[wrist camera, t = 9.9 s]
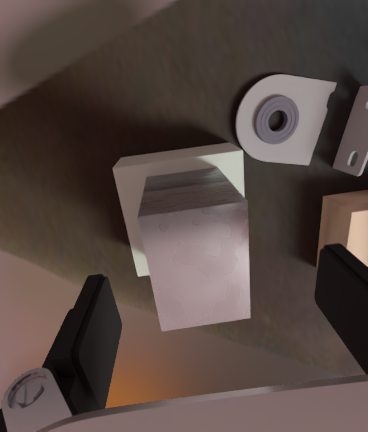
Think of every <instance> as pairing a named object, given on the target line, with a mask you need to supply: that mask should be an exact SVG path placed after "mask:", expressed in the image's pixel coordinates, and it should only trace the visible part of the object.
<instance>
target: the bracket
mask: <svg viewBox="0 0 368 432" xmlns="http://www.w3.org/2000/svg"><path fill="white" fill-rule="evenodd" d="M336 84H337V83H335V82H329V81H323V80H316V79H310V78H304V77H298V76H292V75H284V74H279V75H273V76H269V77H266V78H264V79H262V80H260V81H258V82H257V83H256V84H254V85H253V86H252V87H251V88H250V89H249V90H248V92H247V93H246V94H245V95H244V97H243V99H242V101H241V103H240V105H239V107H238V111H237V115H236V122H235V127H236V134H237V138H238V141H239V143H240V145H241V147H242V148H243V149H244V151H245V152H246V153H247V154H249V155H250V156H251V157H253V158H255V159H258V160H261V161H266V162H277V163H288V164H300V165H309V163H310V160H311V157H312V154H313V151H314V148H315V145H316V142H317V140H318V137H319V134H320V131H321V128H322V125H323V122H324V119H325V116H326V113H327V110H328V109H327V107H326V105H327V101H328V98H329V95H330V94H331V93H332V92H333V91H334V90H335V87H336ZM276 110H279V111H280V112H281V113H282V114H283V117H284V120H283V124H282V126H281V127H280V128H279V129H277V130H275V131H272V130H271V129H270V128H269V126H268V120H269V117H270V115H271V114H272V113H273V112H274V111H276ZM356 151H357V152H358V158H357V160H356V163H355V165H354V166H353V167H351V166H350V161H351V159H352V156H353V154H354V153H355V152H356ZM367 160H368V86H360V88H359V91H358V94H357V96H356V99H355V102H354V105H353V108H352V110H351V113H350V116H349V119H348V122H347V125H346V128H345V131H344V134H343V137H342V140H341V143H340V146H339V149H338V152H337V155H336V158H335V162H334V165H333V168H334V169H337V170H340V171H343V172H346V173H349V174H352V175H354V176H360V175H361V174H362V172H363V170H364V167H365V165H366V162H367Z"/></svg>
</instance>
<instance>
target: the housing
mask: <svg viewBox="0 0 368 432" xmlns="http://www.w3.org/2000/svg"><path fill="white" fill-rule="evenodd" d="M138 222H139V226H140V231H141V236H142V241H143V245H144V250H145V255H146V259H147V264H148V269H149V274H150V278H151V283H152V288H153V293H154V297H155V302H156V307H157V311H158V316H159V321H160V325H161V330H162V331H167V330H174V329H180V328H187V327H194V326H201V325H207V324H214V323H221V322H227V321H234V320H240V319H247V318H250V280H249V238H248V201H247V200H246V199H245V198H244V197H243V196H242V194H241V193H240V192H239V191H238V190H237V189H236V188H235V186H234V185H233V184H232V183H231V182H230V181H229V180H228V178H227V177H226V176H225V175H224V174H223V173H222V172H221V170H220V169H219V168H218V167H215V168H208V169H200V170H193V171H186V172H179V173H171V174H164V175H157V176H150V177H146V181H145V186H144V190H143V195H142V199H141V204H140V208H139V213H138Z"/></svg>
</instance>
